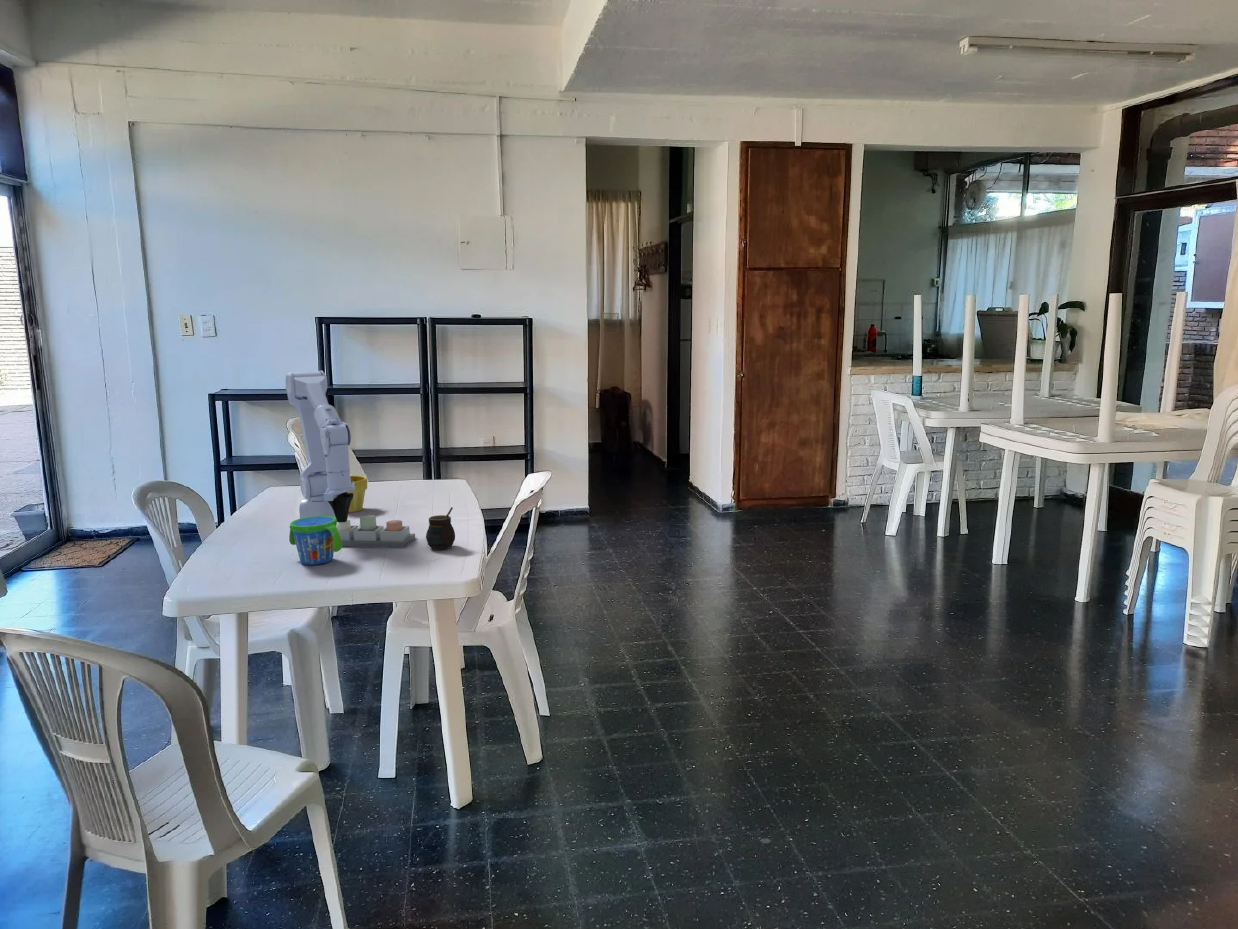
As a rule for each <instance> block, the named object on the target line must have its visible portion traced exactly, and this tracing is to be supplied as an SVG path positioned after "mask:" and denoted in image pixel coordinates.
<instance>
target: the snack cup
mask: <svg viewBox="0 0 1238 929" xmlns="http://www.w3.org/2000/svg"><path fill="white" fill-rule="evenodd" d="M336 525H337V519H336V518H334V517H331V516H313V517H306V518H301V519H300V518H297V519H296V520H293V521H291V522H290V523H289V529H290V530H289V536H288V537H289V543H290V545H292V546H296V550H297V553H298V557H299V561H300V563H301V564H304V565H309V566H310V565H311V566H315V565H322V564H326V563H329V562H331V561H332V560H333V559H334V553H338V552H339V551H341V549H342V548H343V547H342V542H341V538H340V535H339V532H338V529H337V528H336Z"/></svg>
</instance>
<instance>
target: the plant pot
mask: <svg viewBox="0 0 1238 929" xmlns="http://www.w3.org/2000/svg"><path fill="white" fill-rule="evenodd" d="M350 480H351V482H354V485H355V488H356V489H355V490H354V491H348V492H347V493H353V495H354V496H353V499H352V501H351V503H350V507H349V512H348V513H356V512H361V510H363V507H364V501H365V494H366V490H367V489H368V478H367V476H363V475H350Z"/></svg>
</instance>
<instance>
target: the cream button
mask: <svg viewBox="0 0 1238 929" xmlns="http://www.w3.org/2000/svg"><path fill="white" fill-rule="evenodd" d="M351 526H352V525H351V520H350V519H347V521H346V522H337V525H336V528H337V529H338V531H348V530H349V529H351Z"/></svg>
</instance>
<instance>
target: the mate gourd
mask: <svg viewBox="0 0 1238 929" xmlns="http://www.w3.org/2000/svg"><path fill="white" fill-rule="evenodd" d="M453 509H454V507H452V506H451V507H450V509H449V510H448V512H447V513H446V514H445V515H443V514H442V515H441V514H439V515H432V516H430V517H429V518H428V528H427V531H426V534H425V539H426V543H427V545H428V547H429V548H431V549H432V550H435V551H443V550H448V549H450V548H451V547H452V546H454V542H455V540H456V532H455V529H454V527H453V525H452V517H451V516H450V514H451V512H452V510H453Z"/></svg>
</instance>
